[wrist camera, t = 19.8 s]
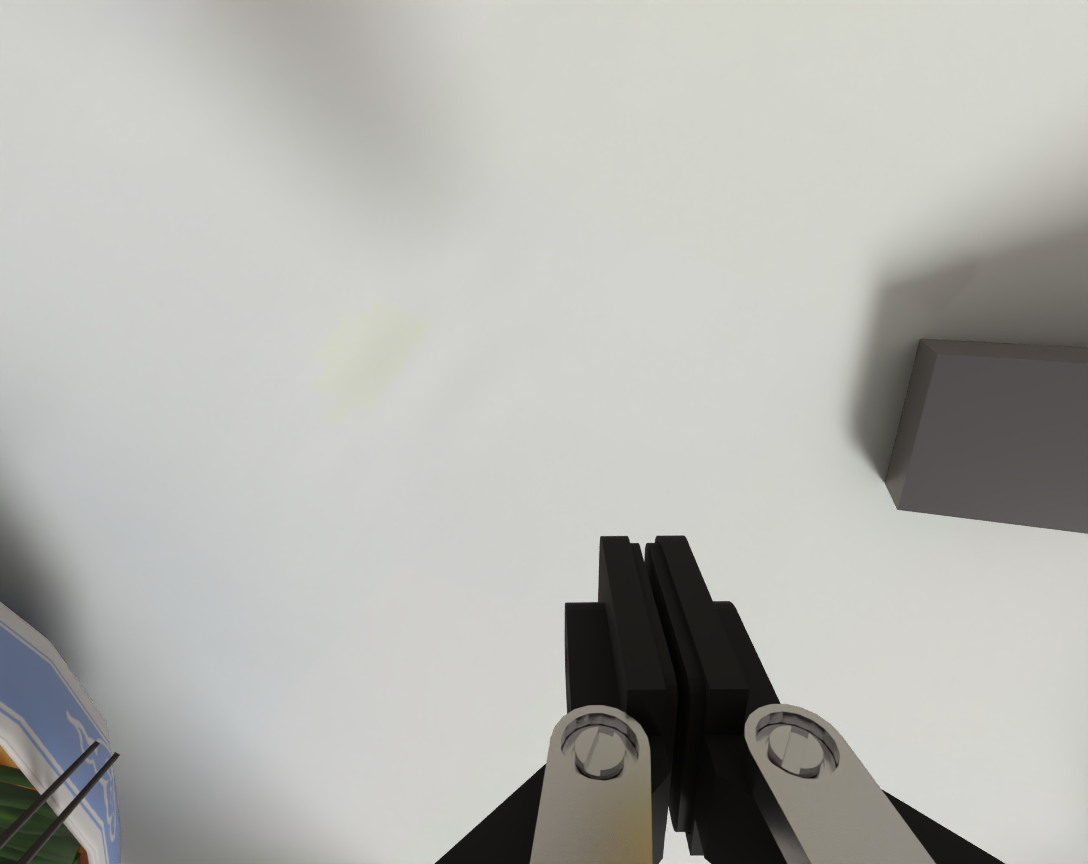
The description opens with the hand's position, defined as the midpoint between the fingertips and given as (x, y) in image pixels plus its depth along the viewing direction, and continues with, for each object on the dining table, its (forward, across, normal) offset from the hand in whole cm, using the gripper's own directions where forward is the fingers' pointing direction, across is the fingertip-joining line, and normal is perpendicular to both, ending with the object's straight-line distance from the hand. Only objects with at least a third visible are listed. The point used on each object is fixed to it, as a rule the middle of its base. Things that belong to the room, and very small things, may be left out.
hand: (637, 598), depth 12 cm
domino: (+7, -9, -1) cm, 12 cm away
